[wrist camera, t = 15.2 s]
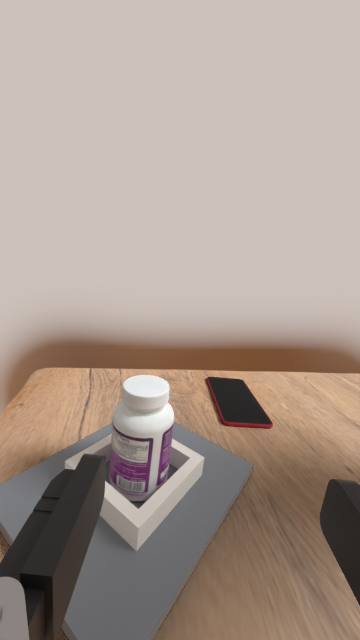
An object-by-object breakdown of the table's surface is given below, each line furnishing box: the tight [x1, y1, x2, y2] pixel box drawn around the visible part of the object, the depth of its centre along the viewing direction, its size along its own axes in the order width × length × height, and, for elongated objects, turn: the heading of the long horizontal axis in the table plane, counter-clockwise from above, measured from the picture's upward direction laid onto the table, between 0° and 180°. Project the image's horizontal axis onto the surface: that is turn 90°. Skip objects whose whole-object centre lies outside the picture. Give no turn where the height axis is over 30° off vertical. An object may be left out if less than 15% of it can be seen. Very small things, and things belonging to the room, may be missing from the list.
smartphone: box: [206, 377, 273, 429], centre depth 43 cm, size 7×1×15 cm
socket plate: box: [0, 422, 254, 640], centre depth 24 cm, size 19×16×3 cm
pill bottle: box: [110, 375, 174, 502], centre depth 23 cm, size 5×5×10 cm
